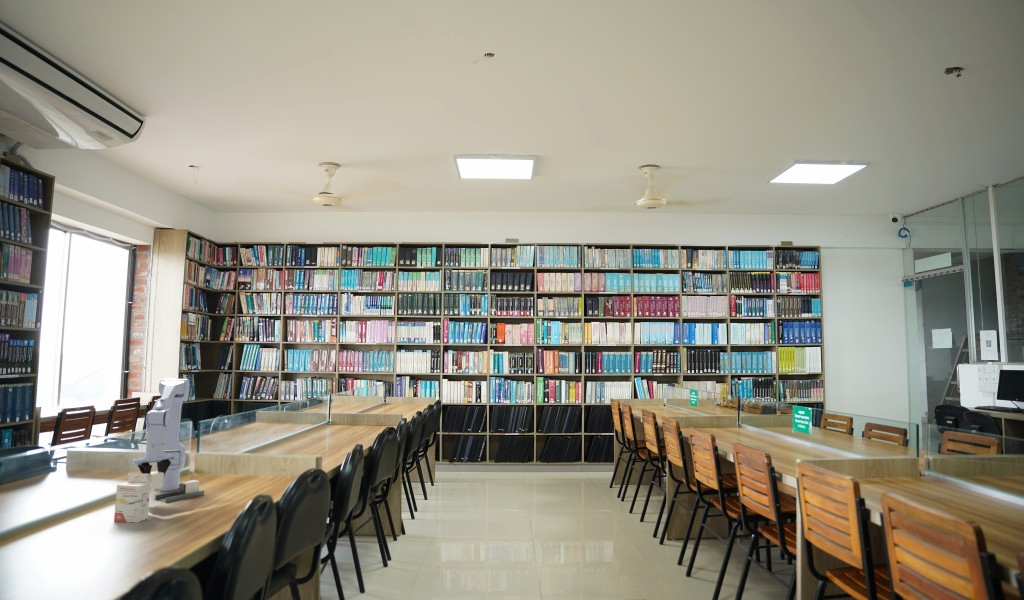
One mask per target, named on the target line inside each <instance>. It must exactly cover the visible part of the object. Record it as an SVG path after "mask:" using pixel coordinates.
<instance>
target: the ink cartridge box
mask: <svg viewBox="0 0 1024 600" xmlns="http://www.w3.org/2000/svg"><path fill="white" fill-rule="evenodd" d="M138 477H140V478H138ZM150 490H151V489H150V474H143V473H141V472H140V473H139V472H128V473H127V481H125V482H123V483H119V484H117V485H116V493H115V504H114V516H113V517H114V518H113V521H114V522H115V523H116V522H117V523H130V522H136V523H135V524H138V523H140V521H141V522H143V521H145V519H146V520H147V518H148V519H149V506H150V492H151V491H150ZM142 520H143V521H142Z"/></svg>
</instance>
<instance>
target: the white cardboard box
mask: <svg viewBox="0 0 1024 600" xmlns="http://www.w3.org/2000/svg"><path fill="white" fill-rule="evenodd" d="M163 479H164V473H163V472H159V471H156V470H155V471H151V472H150V490H151V489H153V490H156V489H155V488H161V487H163Z"/></svg>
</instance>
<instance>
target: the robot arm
mask: <svg viewBox="0 0 1024 600" xmlns="http://www.w3.org/2000/svg"><path fill="white" fill-rule="evenodd" d="M158 393H159V395H160V396H161V397H160V398H158V399H157V400H156V401H155V403H154V404H153V407H152V409H150V410H149V411H147V412H146V415H145V426H146V429H145V432H146V434H147V435H146V447H145V448H146V449H145V456H143V457H138V458H133V459H131V466H137V467H138V469H139V471H140V473H143V474H150V472H152V468H153V465H151V464H152V463H154V465H155V467H156V468H157V469H156V470H155V471H159V472H163V473H164V479H163V487H161V488H155V489H150V490H151V491H152V490H157V491H166V492H167V491H172V490H173V491H174V490H175V491H176V490H179V484H180V482H181V481H180V480H181V479H180V478H181V468H182V467H183V466H184V465H185V463H186V460H187V453H186V452H187V451H186V446H185V445H184V444H183V443H181V442H179V440H180V428H181V418H182V406H183V402H184V401H185V400H186V401H187V400H188V399H189V396H190V380H189V378H161V379H160V381H159V383H158Z"/></svg>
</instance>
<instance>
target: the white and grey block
mask: <svg viewBox="0 0 1024 600" xmlns="http://www.w3.org/2000/svg"><path fill="white" fill-rule="evenodd" d="M200 482H201V481H200V480H196V479H190V480H184V481H180V482H179V488H178V491H179V494H180V495H182V494H187V493H192V492H197V491H200Z"/></svg>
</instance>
